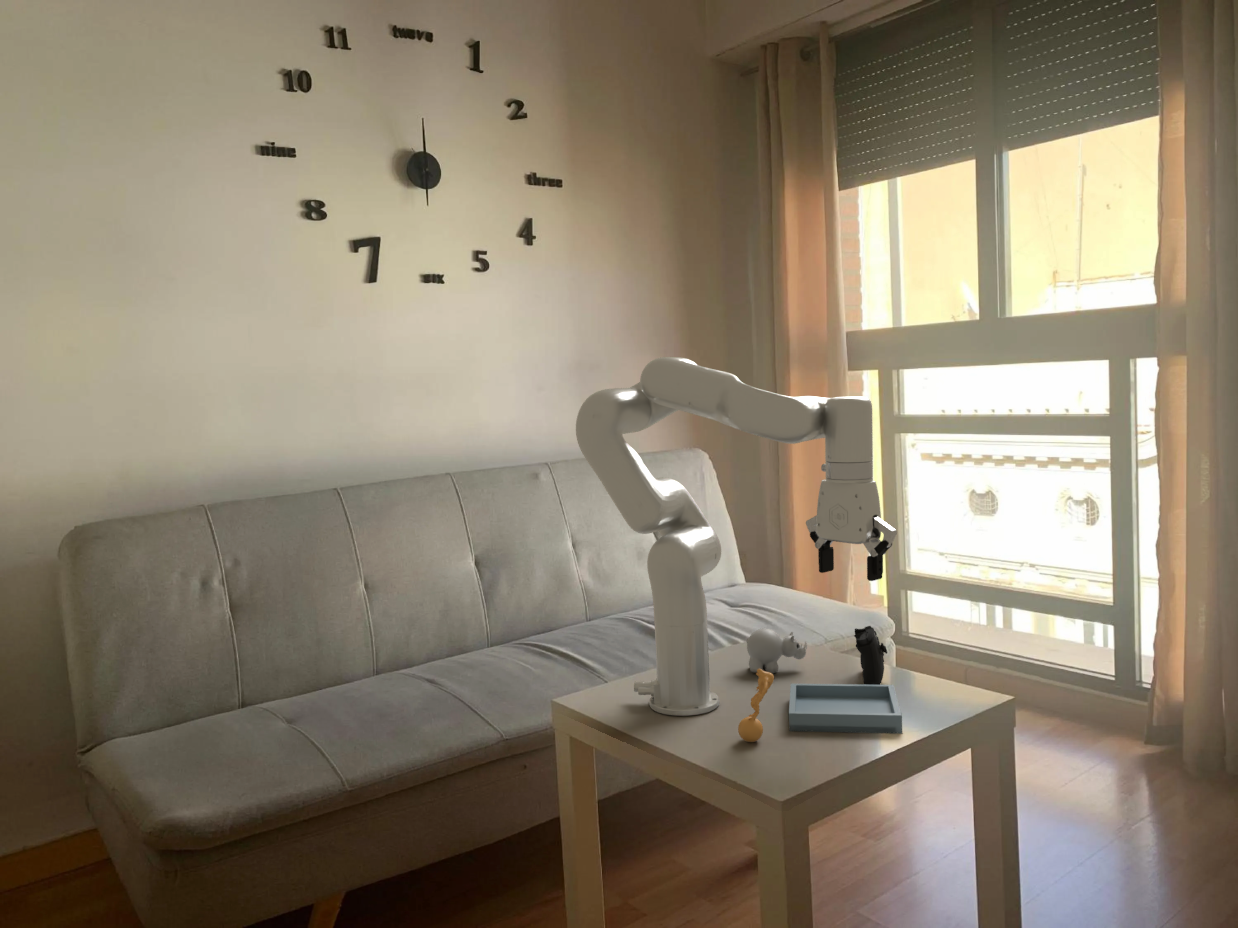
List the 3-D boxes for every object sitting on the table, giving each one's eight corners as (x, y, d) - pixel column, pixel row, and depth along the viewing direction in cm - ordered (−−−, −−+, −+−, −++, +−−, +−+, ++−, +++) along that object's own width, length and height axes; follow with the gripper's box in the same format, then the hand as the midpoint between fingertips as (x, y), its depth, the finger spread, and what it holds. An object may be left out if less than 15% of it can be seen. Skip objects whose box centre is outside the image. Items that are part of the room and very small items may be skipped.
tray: (789, 730, 160) (788, 713, 160) (791, 699, 176) (790, 683, 176) (902, 733, 157) (901, 715, 157) (893, 701, 173) (893, 684, 172)
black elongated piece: (891, 692, 177) (890, 639, 177) (857, 692, 179) (856, 639, 178) (886, 670, 191) (884, 620, 190) (854, 669, 192) (853, 620, 192)
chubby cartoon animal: (809, 675, 190) (808, 632, 189) (747, 676, 191) (746, 633, 191) (806, 664, 197) (805, 623, 196) (747, 665, 199) (745, 624, 198)
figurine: (739, 731, 161) (737, 661, 160) (776, 732, 160) (773, 661, 159) (737, 750, 153) (734, 676, 152) (776, 751, 152) (773, 676, 151)
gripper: (792, 471, 163) (794, 571, 164) (880, 477, 149) (880, 586, 151) (821, 467, 167) (822, 565, 169) (908, 473, 154) (908, 579, 156)
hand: (850, 575), depth 160 cm, fingers open, 9 cm apart
